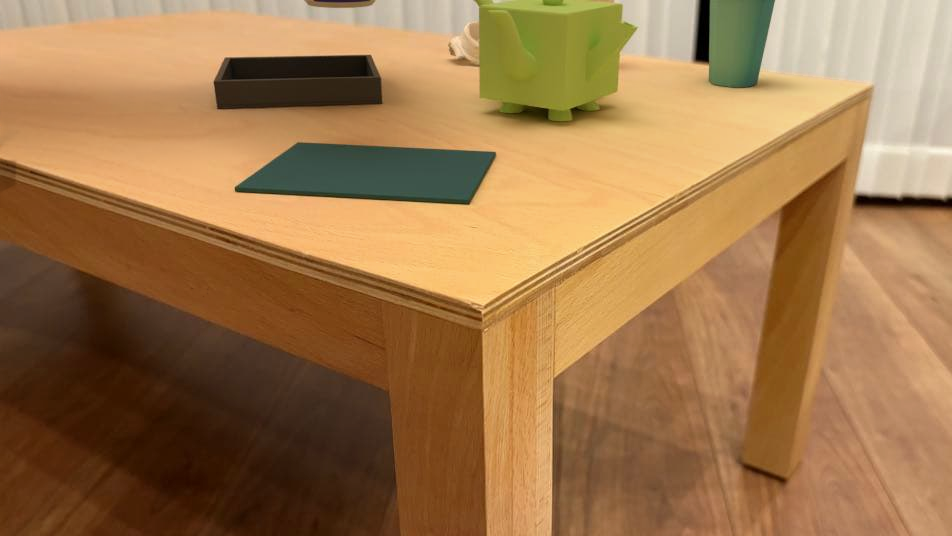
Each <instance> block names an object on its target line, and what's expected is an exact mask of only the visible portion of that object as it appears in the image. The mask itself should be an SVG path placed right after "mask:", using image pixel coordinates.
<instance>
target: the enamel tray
mask: <svg viewBox="0 0 952 536" xmlns="http://www.w3.org/2000/svg"><path fill="white" fill-rule="evenodd" d="M382 87H383V86H382V77H381V75H380V72H379V70H378V68H377V65H376V63H375V61H374V58H373V56H372V54H337V55H335V54H333V55H285V56H284V55H283V56H282V55H281V56H279V55H278V56H277V55H276V56H232V57H224V59H223V60H222V62H221V65H220V67H219V70H218V71H217V74H216V75H215V78H214V80H213V88H214V96H215V103H216V108H217V109H219V110H220V109H246V108H247V109H248V108H249V109H250V108H251V109H253V108H279V107H280V108H281V107H312V106H316V107H317V106H343V105H344V106H345V105H375V104H378V105H379V104H380V105H381V104H383V92H382V91H383V90H382V89H383V88H382Z"/></svg>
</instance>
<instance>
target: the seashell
mask: <svg viewBox="0 0 952 536" xmlns="http://www.w3.org/2000/svg"><path fill="white" fill-rule="evenodd" d="M447 47H448V52H449V54H450V56H452V57H456V58H457V59H458V60H460V59H467V60H468V61H469V62H471V63H473V64H476V65H479V21H471V22H468V23H467V24H465V26H464V27H463V31H462V32H461V35H458V36H454V37H453V38H452V39H451V40H450V42H448V45H447Z"/></svg>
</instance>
